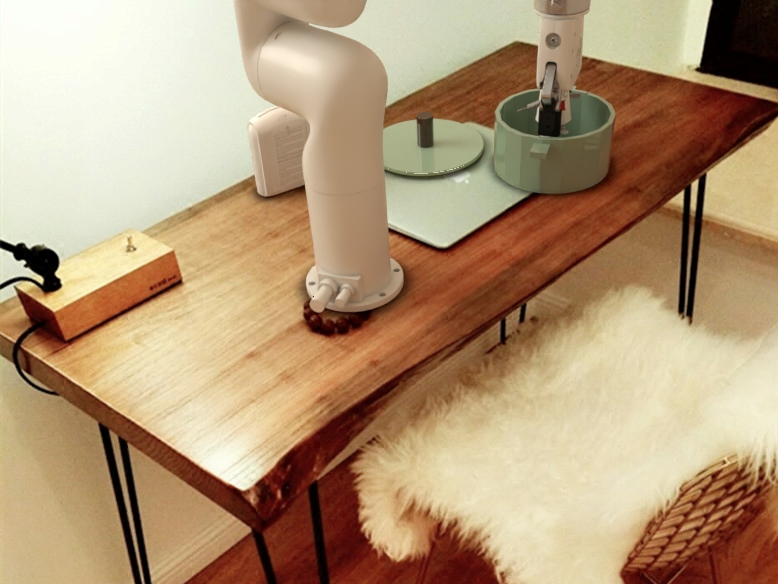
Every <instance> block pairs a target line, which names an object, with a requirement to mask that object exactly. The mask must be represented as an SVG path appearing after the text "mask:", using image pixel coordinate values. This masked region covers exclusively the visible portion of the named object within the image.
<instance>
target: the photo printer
mask: <svg viewBox="0 0 778 584" xmlns="http://www.w3.org/2000/svg"><path fill="white" fill-rule="evenodd" d="M246 130H247V137H248V143H249V148H250V149H249V150H250V155H251V163H252V168H253V175H254V181H255V185H256V191H257V193H258V195H260V196H262V197H264V198H265V197H273V196H276V195H279V194H282V193H285V192H288V191H291V190H294V189H297V188H299V187H302V186H305V181H304V175H303V167H302V156H303V150H304V147H305V144H306V142H307V139H308V137H309V134H310V124H309V122H308V121H307V120H306V119H305V118H303V117H300V116H298V115H296V114H295V113H292V112H290V111H288V110H285V109H283V108H281V107H278V106H276V105H274V106H271V107H269V108H267V109H265V110H262V111H260V112H258V113H257V114H255V115H254V116H253V117H252V118H250V119H249V120H248V121H247V124H246Z"/></svg>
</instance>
